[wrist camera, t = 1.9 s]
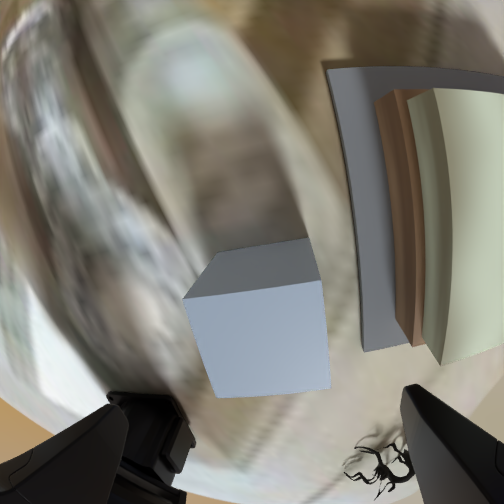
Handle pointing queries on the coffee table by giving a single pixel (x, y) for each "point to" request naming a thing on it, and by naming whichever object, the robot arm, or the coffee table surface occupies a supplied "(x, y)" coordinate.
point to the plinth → (447, 216)
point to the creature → (387, 469)
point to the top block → (261, 321)
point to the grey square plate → (381, 178)
